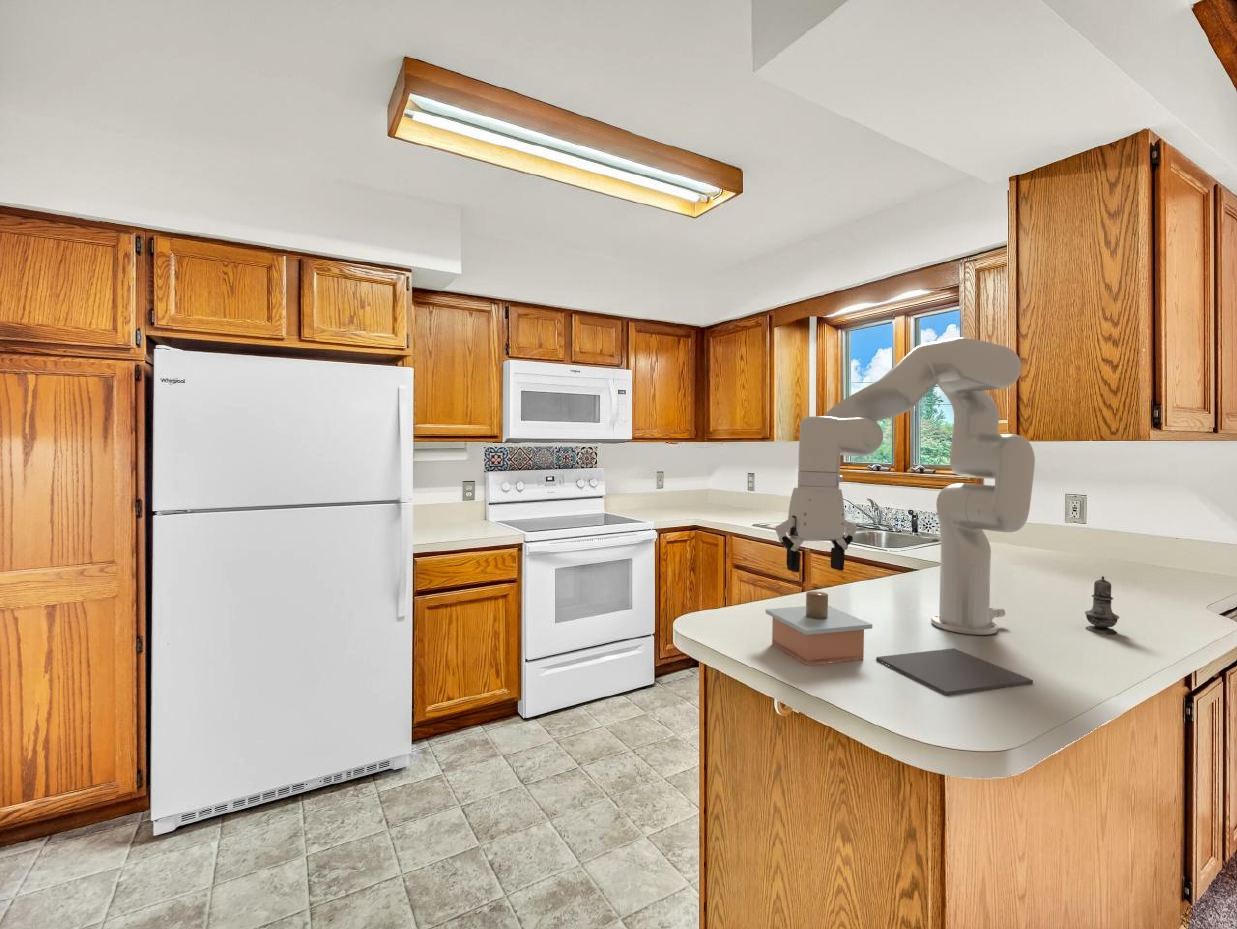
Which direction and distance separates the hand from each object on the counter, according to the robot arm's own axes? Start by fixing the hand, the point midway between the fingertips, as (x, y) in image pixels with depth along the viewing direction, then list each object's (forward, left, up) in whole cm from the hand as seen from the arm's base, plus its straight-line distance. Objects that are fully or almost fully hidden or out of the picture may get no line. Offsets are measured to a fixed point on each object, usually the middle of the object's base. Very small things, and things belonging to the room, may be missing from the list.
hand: (815, 570), depth 113 cm
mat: (-18, +15, -16) cm, 28 cm away
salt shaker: (-69, +5, -16) cm, 71 cm away
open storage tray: (-1, 0, -16) cm, 16 cm away
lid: (-1, 0, -10) cm, 10 cm away
